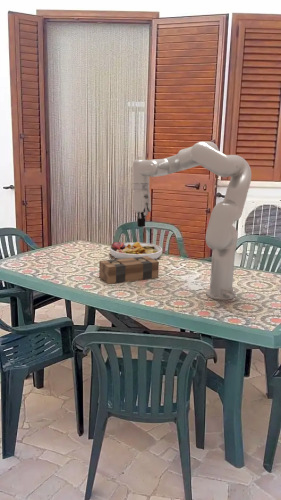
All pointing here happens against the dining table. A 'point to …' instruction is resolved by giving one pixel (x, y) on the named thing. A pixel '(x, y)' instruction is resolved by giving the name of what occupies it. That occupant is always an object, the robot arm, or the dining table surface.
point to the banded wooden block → (128, 269)
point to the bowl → (135, 250)
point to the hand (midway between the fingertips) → (141, 226)
